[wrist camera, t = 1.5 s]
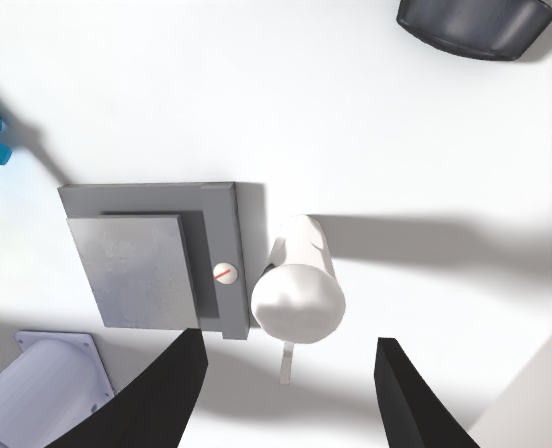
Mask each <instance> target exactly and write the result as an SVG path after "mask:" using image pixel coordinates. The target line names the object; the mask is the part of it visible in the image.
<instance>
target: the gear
mask: <svg viewBox="0 0 552 448" xmlns="http://www.w3.org/2000/svg"><path fill="white" fill-rule="evenodd" d="M0 131H2V122H1V119H0ZM11 153H12V151H11V150H10V149H9V148H8V147H7V146H5V145H3V144H0V165H5V164H6V163H7V162H8V160H9V159H10V156H11Z"/></svg>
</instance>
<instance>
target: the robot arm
mask: <svg viewBox="0 0 552 448" xmlns="http://www.w3.org/2000/svg"><path fill="white" fill-rule="evenodd" d="M14 337H15V339H16V341H17V343H18V345H19V347H20V349H21V351H22V352H23V353H22V354H21V355H20V356H19V357H18V358H17V359H15V360H14V361H13V362H12V363H11V364H10V365H9V366H8V367H7V368H5V369H4V370H3V371H2V372H1V373H0V448H177V447H178V445H179V442H180V440H181V437H182V435H183V433H184V430H185V428H186V425H187V423H188V420H189V418H190V415H191V413H192V411H193V408H194V406H195V403H196V401H197V398H198V396H199V393H200V390H201V388H202V384H203V381H204V377H205V374H206V370H207V366H208V360H207V355H206V351H205V346H204V341H203V336H202V331H201V329H200V328H187V329H186V330H185V331H184V332H183V333H181V334H180V335H179V337H178V338H177V339H176V340H175V341H174V342H173V343H172V344H171V345H170V346H169V347H168V348H167V349H166V350H165V351H164V352H163V353H162V354H161V355H160V356H159V357H158V358H157V359H156V360H155V361H153V362H152V363H151V364H150V365H149V366H148V367H147V368H146V369H145V370H144V371H143V372H142V373H141V374H140V375H139V376H138V377H136V378H135V379H134V380H133V381H132V382H131V383H130V384H129V385H128V386H126V387H125V388H124V389H123V390H122V391H121V392H120V393H118V394H117V395H116V396H115V395H114V393H113V390H112V388H111V385H110V383H109V380H108V377H107V375H106V372H105V370H104V367H103V365H102V362H101V360H100V357H99V355H98V352H97V349H96V347H95V344H94V342H93V339H92V337H91V336H90V335H88V334H74V333H51V332H28V331H18V332H17V333H16V334H14ZM374 379H375V386H376V393H377V399H378V405H379V409H380V413H381V417H382V420H383V424H384V428H385V432H386V436H387V440H388V444H389V448H480V447H479V446H478V445H477V443H476V442H474V440H473V439H472V438H471V437H470V436H469V435H468V434H467V433H466V431H465V430H464V429H463V428H462V427H461V426H460V425H459V423H458V422H457V421H456V420H455V419H454V418H453V416H452V415H451V414H450V413H449V412H448V410H447V409H446V408H445V407H444V405H443V404H442V403H441V402H440V400H439V399H438V398H437V397H436V395H435V394H434V393H433V391H432V390H431V389H430V387H429V386H428V385H427V384H426V382H425V381H424V380H423V378H422V377H421V375H420V374H419V373H418V371H417V370H416V368H415V367H414V366H413V364H412V363H411V361H410V360H409V358H408V357H407V355H406V354H405V352H404V351H403V349H402V348H401V346H400V344H399V343H398V341H397V340H396V339H395V338H381V337H378V343H377V352H376V360H375V369H374Z"/></svg>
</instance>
